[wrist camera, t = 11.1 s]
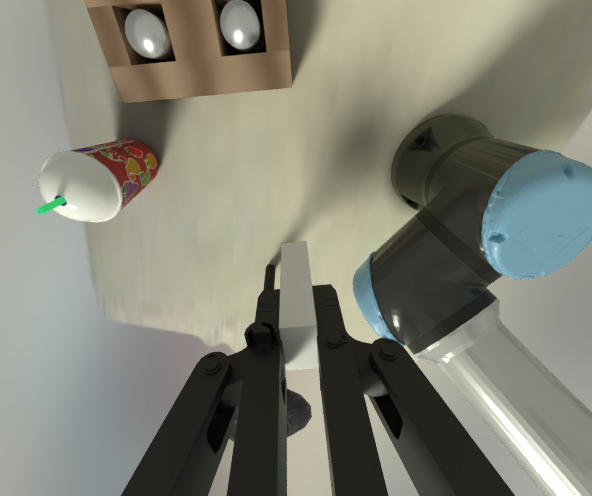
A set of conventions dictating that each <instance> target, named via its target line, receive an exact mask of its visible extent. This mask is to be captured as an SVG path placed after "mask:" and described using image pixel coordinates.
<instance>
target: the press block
mask: <svg viewBox="0 0 592 496" xmlns="http://www.w3.org/2000/svg"><path fill="white" fill-rule="evenodd" d="M230 1H232V0H84V2H85V4H86V7H87V10H88V13H89V15H90V18H91V21H92V23H93V26H94V29H95V31H96V34H97V37H98V39H99V42H100V45H101V47H102V50H103V53H104V56H105V58H106V61H107V64H108V66H109V69H110V72H111V74H112V77H113V80H114V82H115V85H116V88H117V90H118V93H119V96H120V99H121V101H122V103H133V102H144V101H154V100H165V99H175V98H186V97H196V96H207V95H217V94H228V93H238V92H249V91H260V90H270V89H281V88H291V87H292V75H291V62H290V49H289V35H288V22H287V9H286V0H243V1H245V2H247V3H248V4H249V5H250V6H251V7H252V8H253V9H254V11H255V10H262V14H263V23H264V32H265V41H266V50H267V52H264V53H254V54H244V55H234V56H233V55H232V49H231V44H229V43H228V42H227V40H226V39H225V37H224V35H223V33H222V30H221V25H220V17H221V13H222V10H223V8H224V7H225V5H226V4H227V3H228V2H230ZM137 9H141V10H145V11H148V12H150V13H152V14H153V15H155V16H157V17H159V18H161V19H163V20H166V24H167V27H168V31H169V35H170V39H171V43H172V47H173V51H174V54H175V58H176V61H172V62H162V63H159V62H158V59H153V58H148V57H144V56H142V55H140V54H139V53H137V52H136V51H135V50H134V49H133V47H132V46H131V45H130V43H129V41H128V39H127V36H126V33H125V21H126V18H127V16H128V15H129V14H130V13H131V12H132V11H134V10H137Z"/></svg>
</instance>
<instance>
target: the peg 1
mask: <svg viewBox="0 0 592 496" xmlns="http://www.w3.org/2000/svg"><path fill="white" fill-rule="evenodd" d="M125 33H126V36H127V39H128V41H129V43H130V45H131V46H132V47H133V49H134V50H135V51H136V52H137V53H139V54H140V55H142V56H144V57H148V58H153V59H158V60H163V61H169V62H172V61H176V58H175V54H174V51H173V47H172V43H171V39H170V35H169V31H168V27H167V24H166V21H165V20H163V19H161V18H159V17H157V16H155V15H153V14H152V13H150V12H148V11H145V10H141V9H137V10H134V11H132V12H131V13H130V14H129V15H128V16H127V18H126V21H125Z"/></svg>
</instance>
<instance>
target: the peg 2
mask: <svg viewBox="0 0 592 496" xmlns="http://www.w3.org/2000/svg"><path fill="white" fill-rule="evenodd" d="M220 25H221V30H222V33H223V35H224V37H225V39H226V40H227V42H228V43H229V44H231V45H232V46H233V47H235V48H236V49H237V50H239V51H240V52H242V53H243V54H254V53H258V52H259V51H260V50H261V48H262V46H263V43H264V32H263V29H262V26H261V24H260V22H259V19H258V17H257V15H256V13H255V11H254V9H253V8H252V7H251V6H250V5H249V4H248V3H247V2H245V1H243V0H232V1H230V2H228V3H227V4H226V5H225V7H224V8H223V10H222V13H221V17H220Z"/></svg>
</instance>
